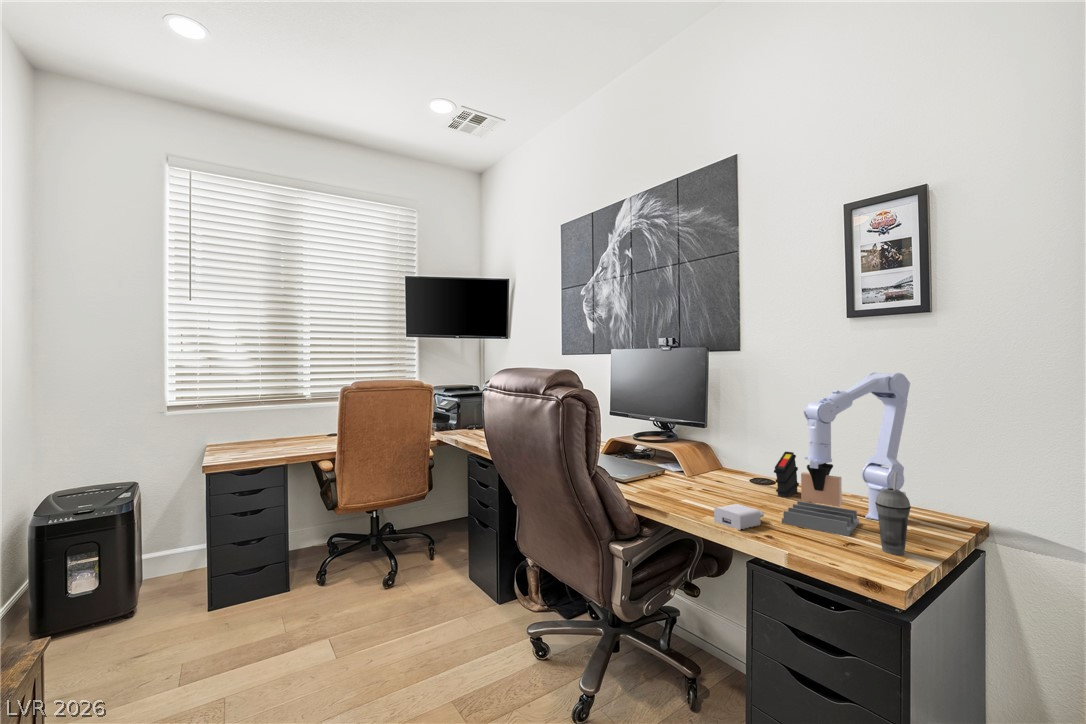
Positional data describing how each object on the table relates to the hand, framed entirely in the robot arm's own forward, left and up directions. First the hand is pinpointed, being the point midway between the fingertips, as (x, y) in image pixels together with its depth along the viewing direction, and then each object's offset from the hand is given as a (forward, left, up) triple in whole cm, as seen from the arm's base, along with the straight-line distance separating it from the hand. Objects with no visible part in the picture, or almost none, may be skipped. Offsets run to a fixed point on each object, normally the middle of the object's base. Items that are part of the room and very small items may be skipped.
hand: (820, 489), depth 145 cm
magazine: (+17, -28, -10) cm, 34 cm away
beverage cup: (-19, +13, -10) cm, 25 cm away
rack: (0, 0, -10) cm, 10 cm away
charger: (+17, +14, -10) cm, 24 cm away
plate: (0, 0, -4) cm, 4 cm away
